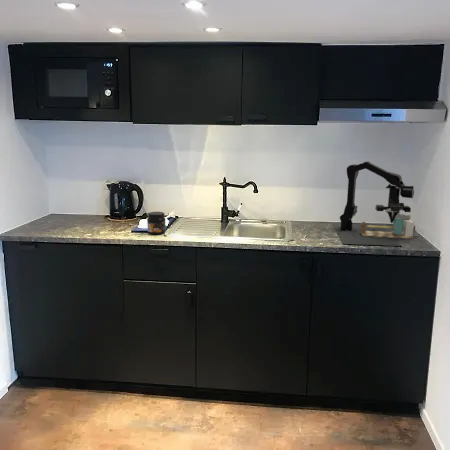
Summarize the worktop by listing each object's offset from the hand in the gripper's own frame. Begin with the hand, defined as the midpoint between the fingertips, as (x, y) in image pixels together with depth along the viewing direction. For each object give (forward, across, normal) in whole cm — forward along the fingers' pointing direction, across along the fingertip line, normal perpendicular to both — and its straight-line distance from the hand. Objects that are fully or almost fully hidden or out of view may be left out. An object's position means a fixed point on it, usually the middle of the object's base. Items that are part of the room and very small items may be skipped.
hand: (391, 222), depth 275 cm
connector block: (+7, +10, 0) cm, 12 cm away
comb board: (+8, -2, 0) cm, 8 cm away
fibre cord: (+3, -3, 0) cm, 5 cm away
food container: (+8, +8, +16) cm, 19 cm away
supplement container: (+8, -136, -19) cm, 137 cm away
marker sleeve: (+6, +3, 0) cm, 7 cm away
